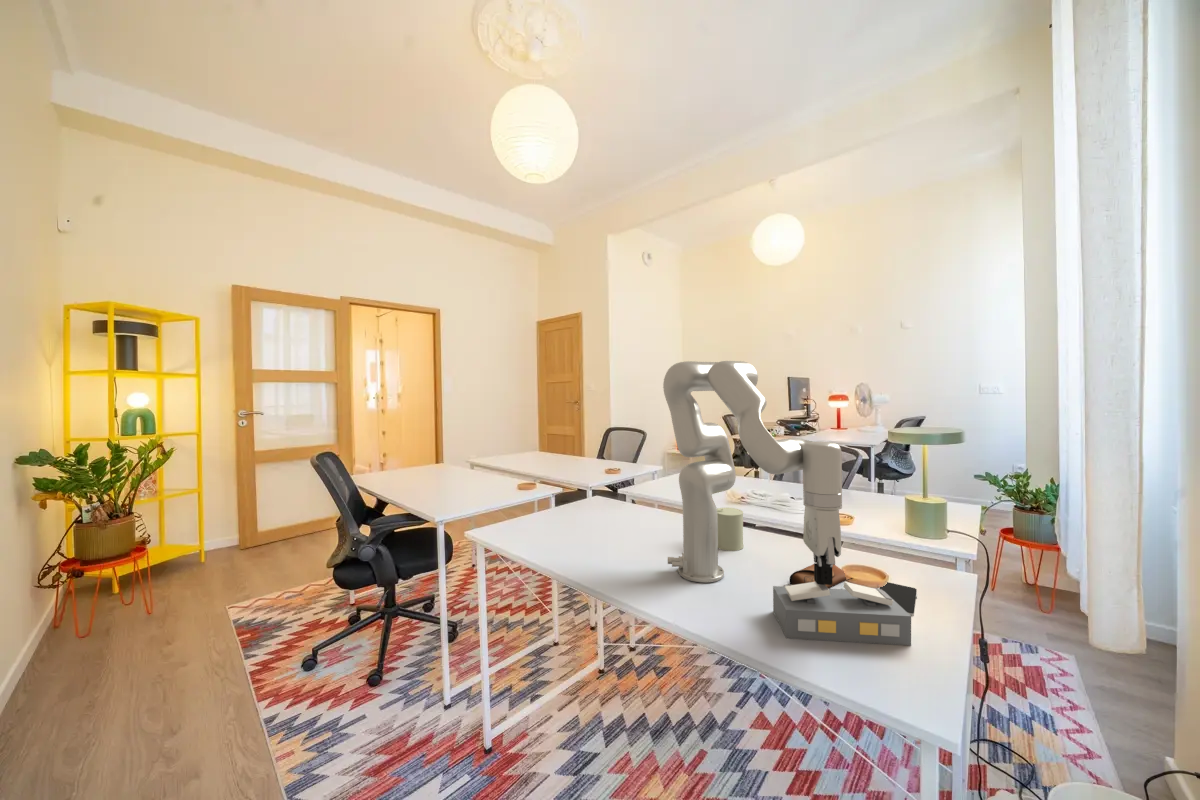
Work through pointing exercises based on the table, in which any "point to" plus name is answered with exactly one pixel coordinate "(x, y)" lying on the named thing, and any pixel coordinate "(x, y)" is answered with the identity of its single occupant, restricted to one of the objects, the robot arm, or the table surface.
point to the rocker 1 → (806, 591)
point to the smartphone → (902, 596)
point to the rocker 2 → (868, 593)
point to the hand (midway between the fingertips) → (823, 582)
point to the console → (841, 618)
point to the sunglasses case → (808, 576)
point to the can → (730, 529)
